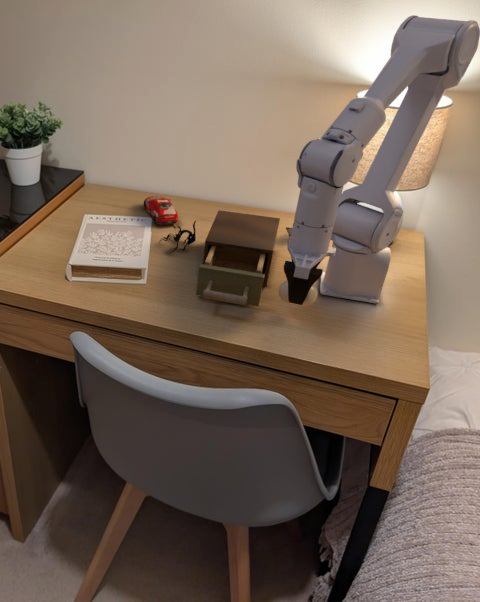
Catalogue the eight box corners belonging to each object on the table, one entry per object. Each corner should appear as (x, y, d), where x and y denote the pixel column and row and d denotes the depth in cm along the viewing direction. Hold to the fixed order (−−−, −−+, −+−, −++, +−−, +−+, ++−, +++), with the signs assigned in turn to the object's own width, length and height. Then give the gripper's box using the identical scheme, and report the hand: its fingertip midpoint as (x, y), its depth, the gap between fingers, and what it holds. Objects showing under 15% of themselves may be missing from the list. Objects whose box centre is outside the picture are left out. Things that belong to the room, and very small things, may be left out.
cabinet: (266, 286, 103) (273, 250, 99) (201, 275, 106) (205, 240, 102) (273, 251, 114) (280, 218, 110) (214, 243, 118) (218, 210, 114)
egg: (315, 299, 94) (320, 279, 92) (314, 312, 91) (319, 291, 89) (278, 293, 96) (282, 273, 94) (275, 305, 93) (280, 285, 91)
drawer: (255, 322, 92) (260, 292, 89) (189, 309, 95) (193, 280, 92) (266, 269, 106) (271, 242, 103) (209, 260, 109) (212, 234, 106)
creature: (158, 258, 114) (198, 254, 112) (154, 235, 112) (194, 229, 110) (161, 241, 121) (199, 236, 119) (157, 218, 118) (195, 213, 116)
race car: (141, 205, 135) (141, 189, 133) (163, 203, 135) (164, 187, 133) (156, 228, 124) (157, 211, 122) (180, 226, 124) (181, 209, 122)
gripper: (339, 245, 79) (318, 324, 86) (345, 206, 90) (327, 279, 97) (286, 236, 81) (271, 314, 89) (299, 199, 92) (284, 271, 100)
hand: (297, 295), depth 93 cm, fingers closed on egg, 4 cm apart
